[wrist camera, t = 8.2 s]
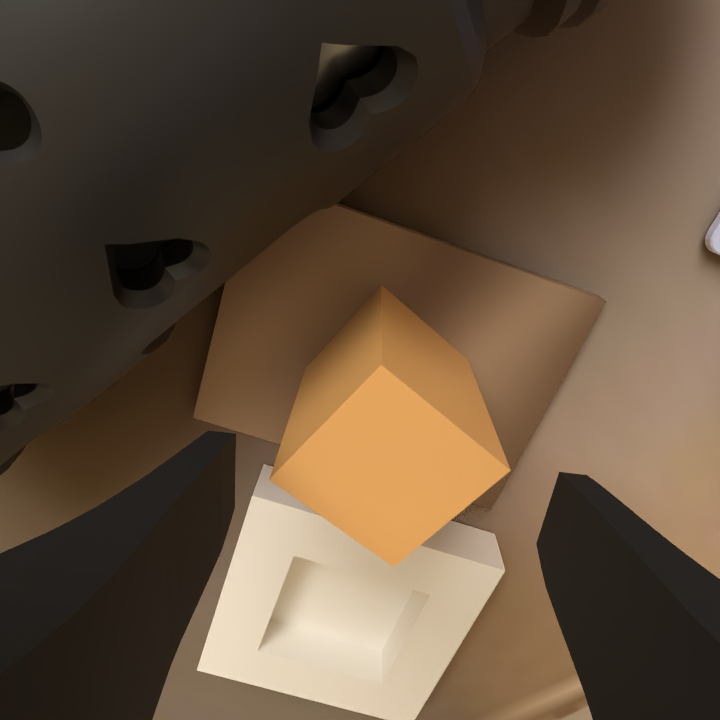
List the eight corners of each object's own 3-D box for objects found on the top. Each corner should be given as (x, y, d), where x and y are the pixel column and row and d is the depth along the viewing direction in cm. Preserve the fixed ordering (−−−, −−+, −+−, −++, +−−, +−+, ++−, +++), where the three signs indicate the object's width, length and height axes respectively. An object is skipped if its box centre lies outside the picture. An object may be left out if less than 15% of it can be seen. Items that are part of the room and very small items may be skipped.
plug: (467, 359, 18) (510, 470, 12) (389, 433, 19) (393, 566, 13) (381, 284, 17) (381, 364, 11) (305, 367, 18) (269, 480, 12)
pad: (599, 296, 17) (606, 301, 17) (487, 499, 21) (490, 509, 20) (255, 173, 16) (251, 174, 16) (198, 409, 20) (192, 417, 19)
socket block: (494, 533, 22) (505, 570, 20) (408, 683, 25) (411, 726, 24) (263, 463, 21) (252, 495, 19) (210, 630, 25) (196, 670, 23)
